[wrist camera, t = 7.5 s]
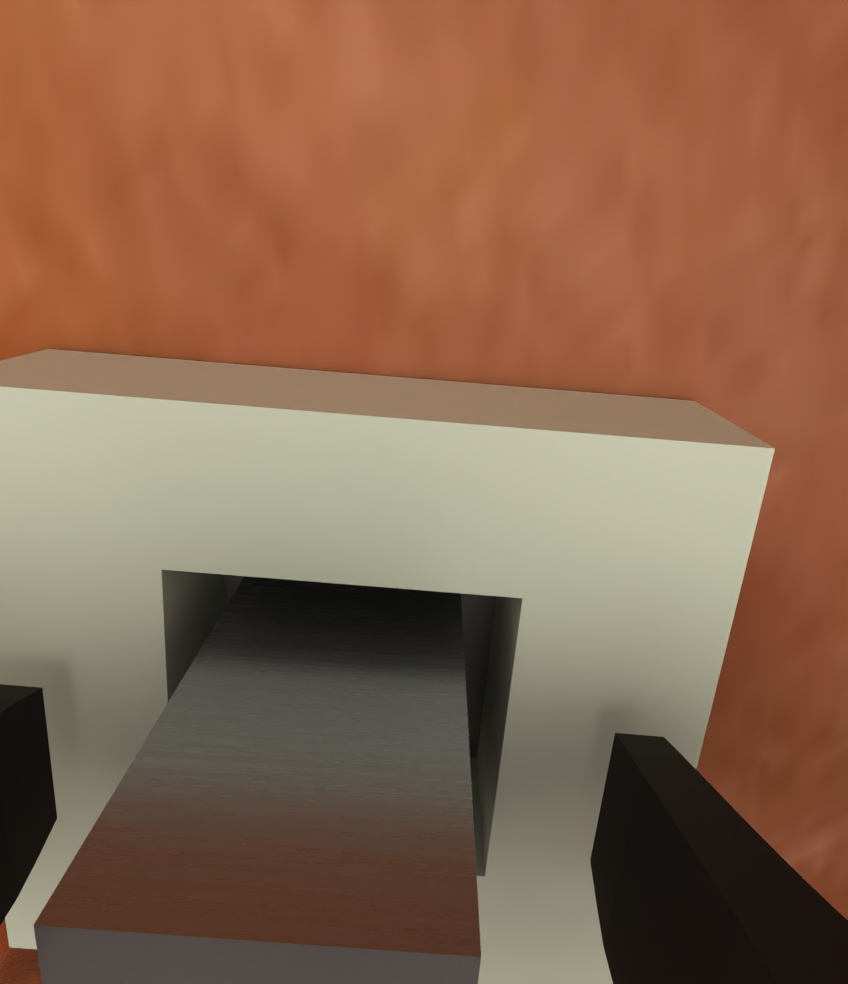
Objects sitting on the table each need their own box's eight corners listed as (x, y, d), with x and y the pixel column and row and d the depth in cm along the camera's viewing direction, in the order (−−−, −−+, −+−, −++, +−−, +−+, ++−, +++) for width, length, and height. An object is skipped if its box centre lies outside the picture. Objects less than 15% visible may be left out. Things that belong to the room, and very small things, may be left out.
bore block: (694, 400, 11) (774, 449, 8) (602, 854, 14) (641, 997, 11) (48, 349, 11) (-78, 380, 8) (92, 814, 14) (9, 947, 11)
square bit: (458, 556, 12) (481, 956, 5) (444, 719, 13) (446, 1229, 6) (264, 542, 12) (32, 925, 5) (266, 707, 13) (74, 1203, 6)
